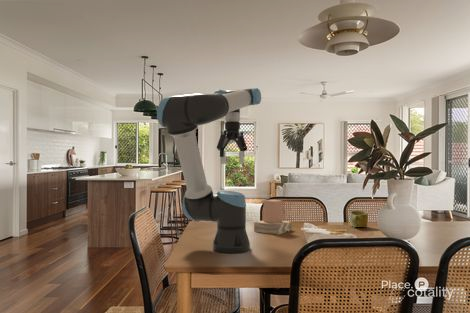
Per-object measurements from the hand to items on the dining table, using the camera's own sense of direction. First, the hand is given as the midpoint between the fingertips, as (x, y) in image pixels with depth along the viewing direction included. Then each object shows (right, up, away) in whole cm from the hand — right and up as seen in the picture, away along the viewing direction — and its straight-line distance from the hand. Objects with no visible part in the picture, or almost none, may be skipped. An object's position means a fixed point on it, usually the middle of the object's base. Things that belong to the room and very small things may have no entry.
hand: (232, 163), depth 176 cm
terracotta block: (+21, -30, +6) cm, 37 cm away
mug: (+68, -35, +15) cm, 78 cm away
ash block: (+21, -35, +6) cm, 41 cm away
